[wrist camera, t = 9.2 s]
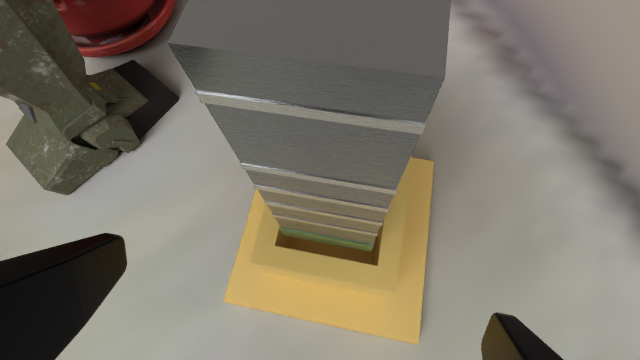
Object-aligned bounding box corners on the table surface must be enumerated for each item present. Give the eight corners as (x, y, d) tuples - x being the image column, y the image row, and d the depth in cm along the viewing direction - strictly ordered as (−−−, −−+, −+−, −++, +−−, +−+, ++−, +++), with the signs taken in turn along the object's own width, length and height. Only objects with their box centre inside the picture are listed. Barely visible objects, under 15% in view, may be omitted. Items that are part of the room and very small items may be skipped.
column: (370, 252, 16) (449, 81, 5) (283, 235, 16) (162, 45, 5) (382, 171, 17) (463, -106, 6) (302, 158, 18) (241, -119, 7)
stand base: (414, 343, 19) (440, 351, 14) (228, 302, 20) (194, 296, 16) (430, 167, 23) (454, 127, 18) (273, 143, 24) (258, 99, 20)
